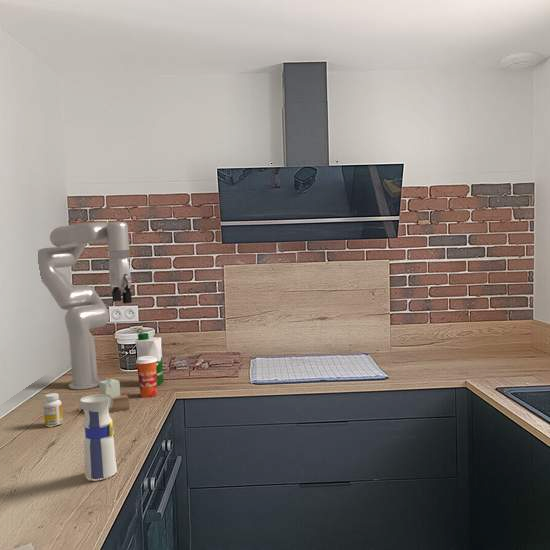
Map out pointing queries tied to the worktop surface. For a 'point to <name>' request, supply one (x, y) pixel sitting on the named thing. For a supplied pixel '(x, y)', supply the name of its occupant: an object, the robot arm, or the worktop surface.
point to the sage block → (112, 391)
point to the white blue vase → (98, 435)
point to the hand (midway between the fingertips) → (122, 302)
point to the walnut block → (120, 403)
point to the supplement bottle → (53, 409)
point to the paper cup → (147, 375)
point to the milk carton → (151, 351)
